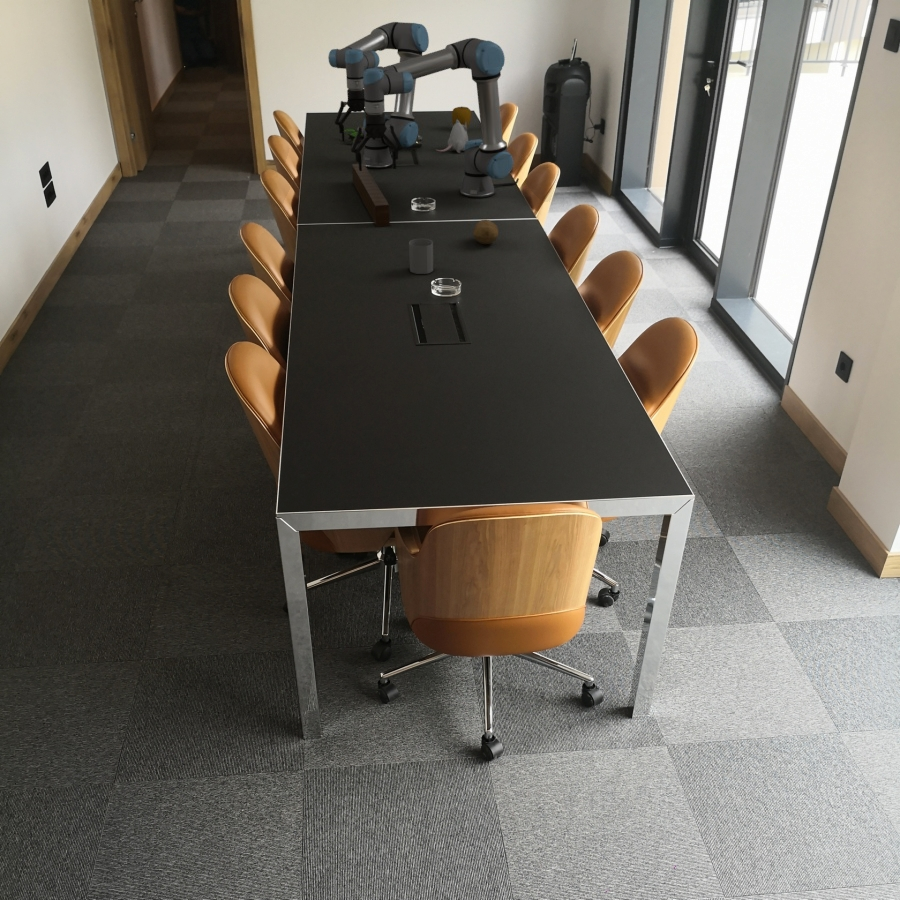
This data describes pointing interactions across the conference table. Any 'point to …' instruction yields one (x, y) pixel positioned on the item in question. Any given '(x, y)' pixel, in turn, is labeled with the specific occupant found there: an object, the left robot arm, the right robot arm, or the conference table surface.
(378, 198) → the beam
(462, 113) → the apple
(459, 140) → the toy
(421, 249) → the cup
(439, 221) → the conference table surface
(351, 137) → the green toy turtle
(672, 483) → the conference table surface
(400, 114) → the left robot arm
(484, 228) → the potato
